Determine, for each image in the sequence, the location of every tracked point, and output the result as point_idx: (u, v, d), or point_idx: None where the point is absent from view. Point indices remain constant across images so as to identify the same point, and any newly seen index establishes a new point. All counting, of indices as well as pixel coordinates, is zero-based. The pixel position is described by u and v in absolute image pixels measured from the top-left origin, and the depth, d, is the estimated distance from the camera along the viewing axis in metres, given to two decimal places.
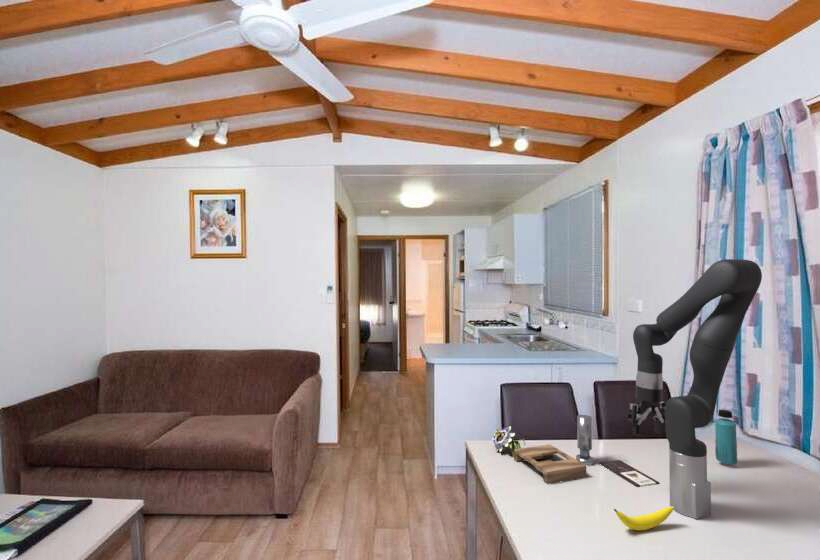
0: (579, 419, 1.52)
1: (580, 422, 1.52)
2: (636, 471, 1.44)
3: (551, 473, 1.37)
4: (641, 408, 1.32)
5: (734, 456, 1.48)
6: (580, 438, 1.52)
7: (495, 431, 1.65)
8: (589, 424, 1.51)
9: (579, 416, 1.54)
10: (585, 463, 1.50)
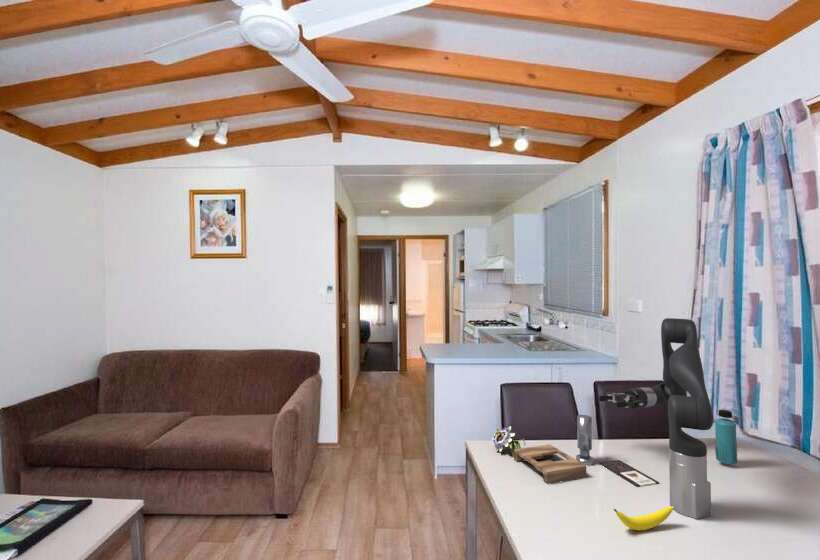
0: (579, 419, 1.52)
1: (580, 422, 1.52)
2: (636, 471, 1.44)
3: (551, 473, 1.37)
4: (618, 394, 1.63)
5: (734, 456, 1.48)
6: (580, 438, 1.52)
7: (495, 431, 1.65)
8: (589, 425, 1.51)
9: (579, 416, 1.54)
10: (585, 463, 1.50)
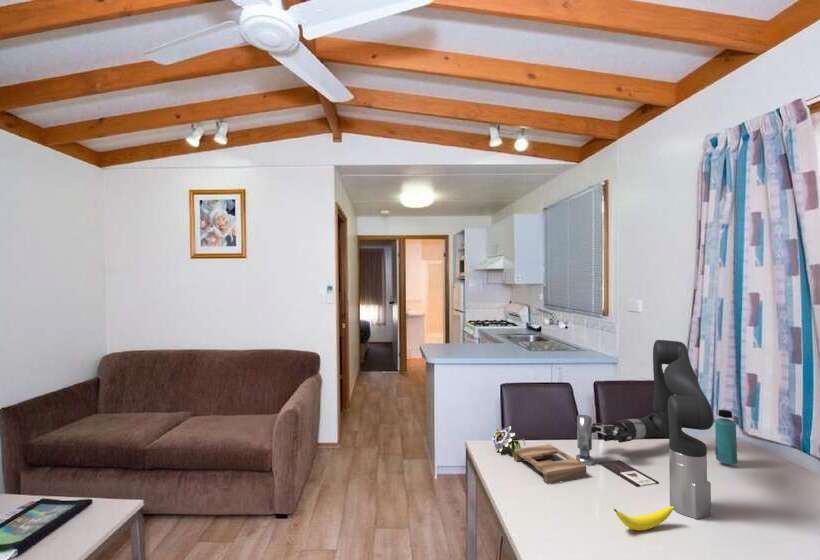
0: (579, 419, 1.52)
1: (580, 422, 1.52)
2: (636, 471, 1.44)
3: (551, 473, 1.37)
4: None
5: (734, 456, 1.48)
6: (580, 438, 1.52)
7: (495, 431, 1.65)
8: (589, 425, 1.51)
9: (579, 416, 1.54)
10: (585, 463, 1.50)
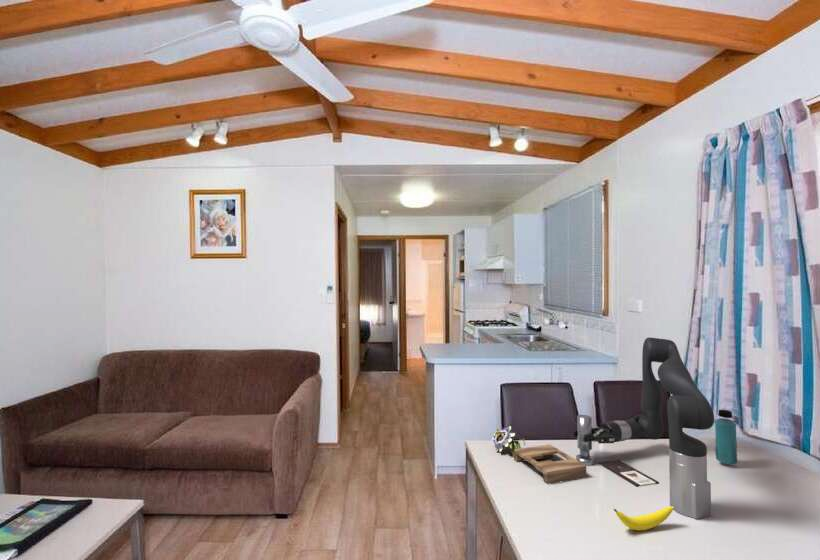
0: (579, 419, 1.52)
1: (580, 422, 1.52)
2: (635, 471, 1.44)
3: (551, 473, 1.37)
4: None
5: (734, 456, 1.48)
6: (580, 438, 1.52)
7: (495, 431, 1.65)
8: (589, 424, 1.51)
9: (579, 416, 1.54)
10: (585, 463, 1.50)
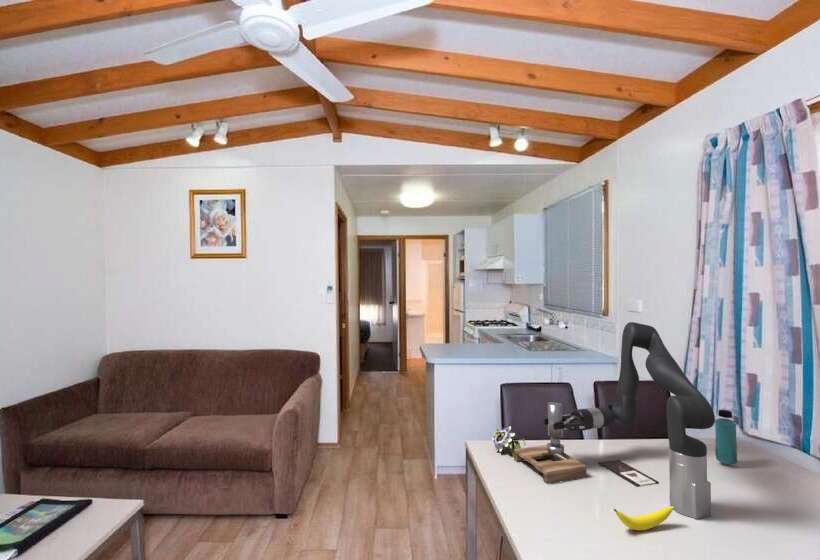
0: (549, 406, 1.49)
1: (550, 409, 1.48)
2: (635, 471, 1.44)
3: (551, 473, 1.37)
4: None
5: (734, 456, 1.48)
6: (551, 426, 1.48)
7: (495, 431, 1.65)
8: (559, 412, 1.47)
9: (550, 403, 1.50)
10: (555, 451, 1.47)
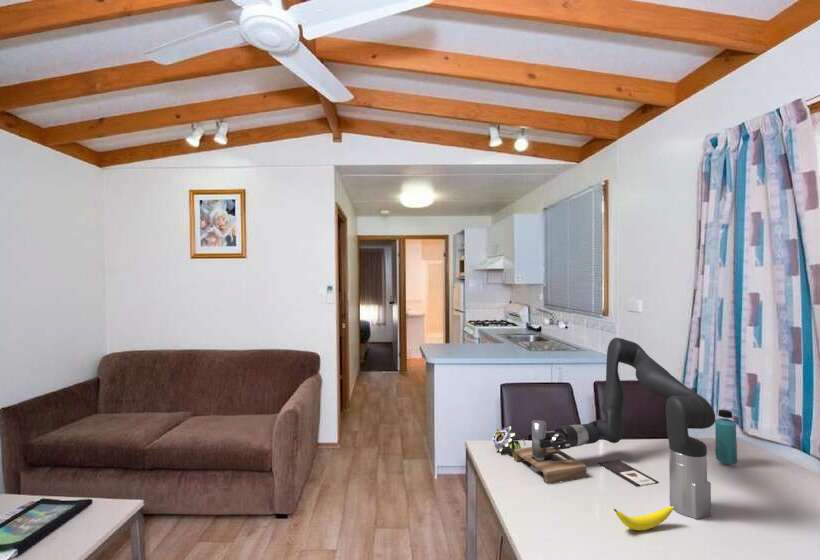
0: (533, 425, 1.46)
1: (534, 427, 1.46)
2: (635, 471, 1.44)
3: (551, 473, 1.37)
4: None
5: (734, 456, 1.48)
6: (534, 445, 1.46)
7: (495, 431, 1.65)
8: (543, 430, 1.45)
9: (534, 421, 1.48)
10: (539, 471, 1.44)
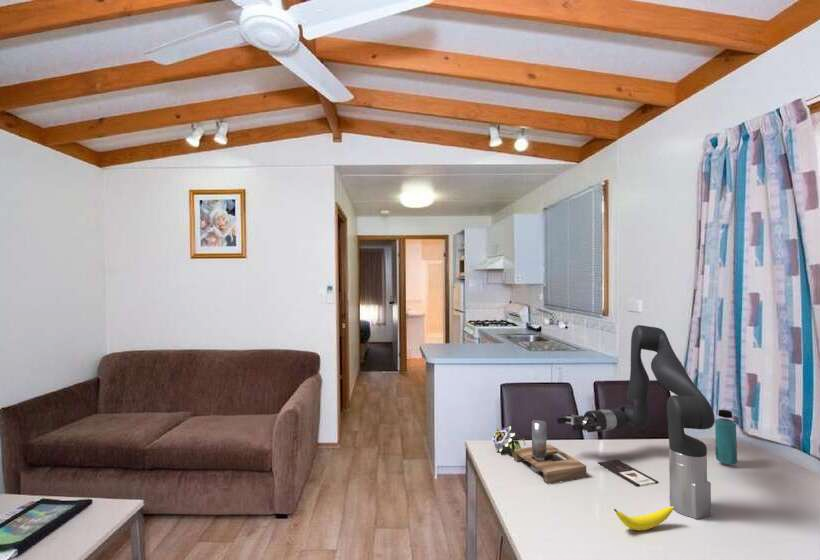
0: (533, 425, 1.46)
1: (534, 427, 1.46)
2: (635, 471, 1.45)
3: (551, 473, 1.37)
4: None
5: (734, 456, 1.48)
6: (534, 445, 1.46)
7: (495, 431, 1.65)
8: (543, 430, 1.45)
9: (534, 421, 1.48)
10: (539, 471, 1.44)
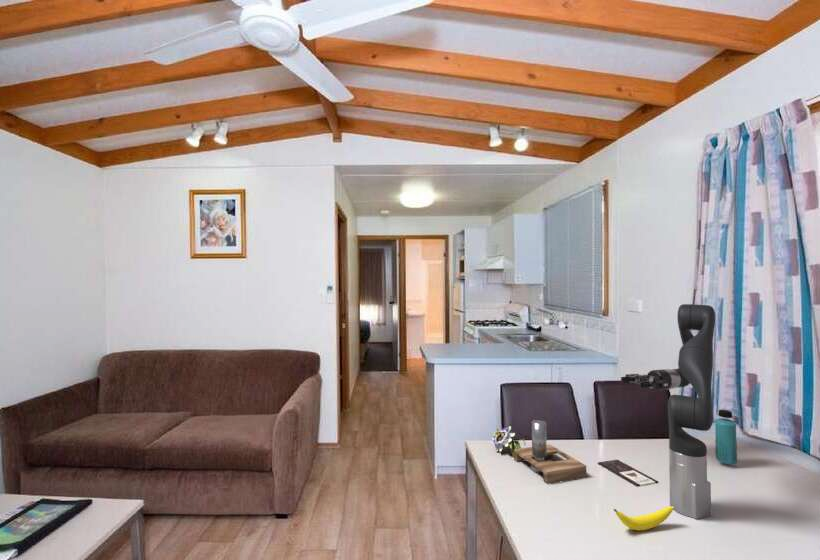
0: (533, 425, 1.46)
1: (534, 427, 1.46)
2: (634, 471, 1.45)
3: (551, 473, 1.37)
4: None
5: (734, 456, 1.48)
6: (534, 445, 1.46)
7: (495, 431, 1.65)
8: (543, 430, 1.45)
9: (534, 421, 1.48)
10: (539, 471, 1.44)
